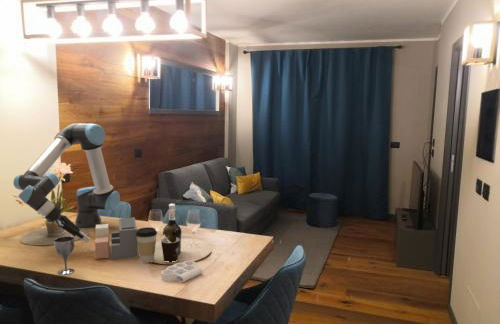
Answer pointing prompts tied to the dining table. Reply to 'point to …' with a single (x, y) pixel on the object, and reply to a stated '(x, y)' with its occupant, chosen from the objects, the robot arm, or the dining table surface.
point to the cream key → (102, 231)
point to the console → (124, 240)
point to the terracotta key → (101, 248)
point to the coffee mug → (170, 250)
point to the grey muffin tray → (181, 272)
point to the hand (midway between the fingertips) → (88, 241)
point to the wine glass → (64, 251)
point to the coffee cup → (146, 243)
